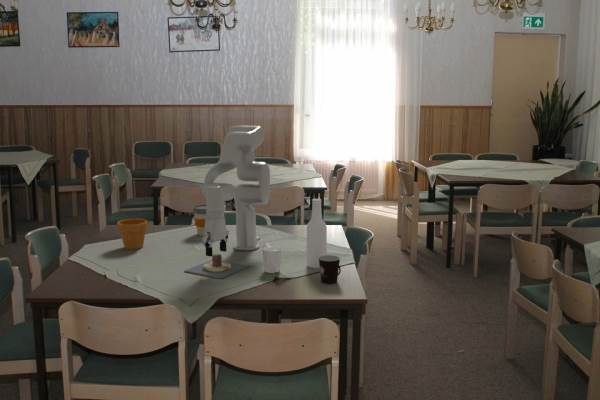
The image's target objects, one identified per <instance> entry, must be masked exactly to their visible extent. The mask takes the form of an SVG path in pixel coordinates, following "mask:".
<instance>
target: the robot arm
mask: <svg viewBox="0 0 600 400" xmlns="http://www.w3.org/2000/svg"><path fill="white" fill-rule="evenodd" d="M265 136H266V135H265V130H264V128H263V127H262V126H260V125H233V126H230V127H229V128H228V132H227V134H225V137H224V140H223V142H222V143H223V144H222V148H221V152H220V157H219V160H218V161H217V162H216V163H215V164H214V165H212V167H211V168H210V169H209V170H208V171H207V172H206V175H205V177H204V182H203V185H202V191H201V192H202V197H204V199H206V201H205V202H206V203H205V205H206V207H207V219H206V220H205V228H204V236H202V238H201V241H202V244H203V245H204V247H205V256H206V257H212V255H213V247H212V246H213V243H215V242H219V251H220V252H223V253H224V252H227V243H228V239H229V234H230V230H227V224H226V217H225V201H226V202H227V201H231V200H234V203H235V223H236V225H235V226H236V227H235V228H236V243H235V244H234V245H233V249H235V250H237V251H242V252H243V251H246V252H248V251H255V250H258V249H259V248H260V244H259V243H258V241H260V240H261V239H262V238H261V236H257V220H256V219H257V217H256V216H257V215H256V209H255V208H254V206H253V205H266V204H268V203H269V201H270V196H271V189H270V188H271V172H270V171H271V170H270V166H269V164H268V163H267V162H265V161H256V160H255V159H256V157H255V154H256V153H255V152H256V151H255V149H257V148H258V147H259V146H260V145H261V144H262V143H263V142H264V140H265ZM232 170H236V175H237V178H238V180H239V181H240V182H241V181H242V182H255V183H256V182H257V183H258V184H253V183H240V184H237V185H236V186H234V185H233V184H231V183H226V182H225V183H224V182H215V180H216V179H217V178H218V177H219V176H221V175H223V174H225V173H227V172H230V171H232Z"/></svg>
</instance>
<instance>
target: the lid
mask: <svg viewBox="0 0 600 400" xmlns="http://www.w3.org/2000/svg"><path fill="white" fill-rule="evenodd" d="M211 260H212V262H210V263H206V264H204V265H203V269H204V270H205V271H208V272H223V271H227V270H229V269H231V264H230V263H228V262H229V261H226V262H222V261H223V259H222V254H212V256H211Z"/></svg>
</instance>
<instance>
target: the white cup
mask: <svg viewBox="0 0 600 400" xmlns="http://www.w3.org/2000/svg"><path fill="white" fill-rule="evenodd" d="M262 255H263V256H262V257H263V270H264V272H265V273H267V272H268V274H276V273H275V272H277V273H280V272H281V264H282V263H281V261H282V248H281V247H279V246H274V245H273V246H272V245H271V246H264V247H262Z"/></svg>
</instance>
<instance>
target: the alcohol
mask: <svg viewBox="0 0 600 400" xmlns="http://www.w3.org/2000/svg"><path fill="white" fill-rule="evenodd" d="M311 201H312V202H311V203H312V205H311V206H312V207H311V217H310V220H309V222H308V223H307V225H306V266H307V267H308V268H310V269H319V270H320V265H319V257H320V256H324V255H328V253H327V250H328V249H327V248H328V247H327V246H328V244H327V241H328V240H327V239H328V237H327V236H328V235H327V234H328V230H327V229H328V228H327V227H328V226H327V223H326V222H325V221H324V219H323V213H322V212H323V211H322V199H321V198H312V199H311Z"/></svg>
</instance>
